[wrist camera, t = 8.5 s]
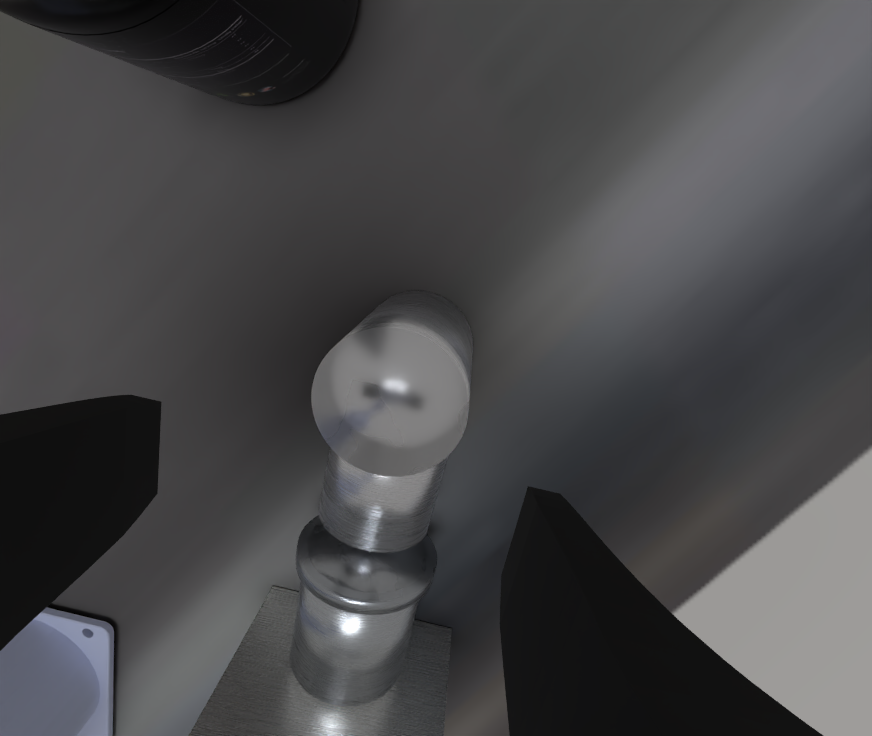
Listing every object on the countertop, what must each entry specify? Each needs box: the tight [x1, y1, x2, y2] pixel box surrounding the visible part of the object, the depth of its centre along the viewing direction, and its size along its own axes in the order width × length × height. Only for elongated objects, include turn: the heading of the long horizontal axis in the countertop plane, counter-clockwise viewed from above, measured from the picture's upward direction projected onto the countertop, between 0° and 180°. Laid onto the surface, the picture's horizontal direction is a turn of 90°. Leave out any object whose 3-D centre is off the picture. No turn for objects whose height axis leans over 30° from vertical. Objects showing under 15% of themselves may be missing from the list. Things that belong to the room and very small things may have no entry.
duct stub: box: [189, 515, 452, 736], centre depth 18 cm, size 6×8×7 cm
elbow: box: [311, 290, 473, 553], centre depth 16 cm, size 8×4×6 cm, turn 166°
